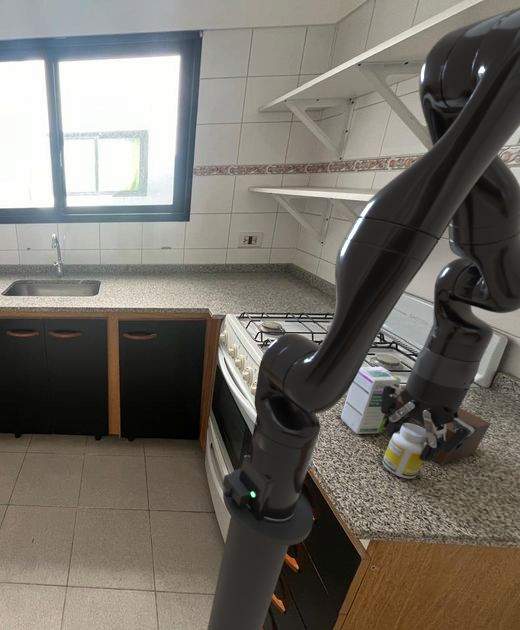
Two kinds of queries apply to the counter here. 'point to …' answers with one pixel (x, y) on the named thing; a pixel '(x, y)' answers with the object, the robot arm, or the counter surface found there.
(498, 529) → the counter surface
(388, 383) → the syrup box
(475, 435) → the brown wooden arch block
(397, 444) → the supplement bottle
